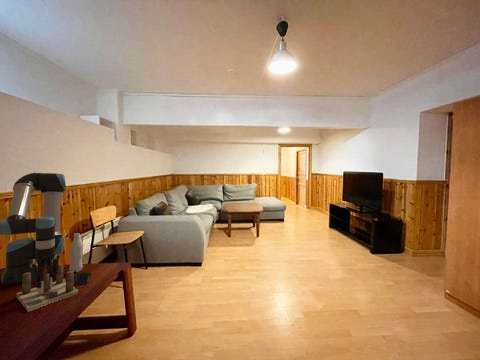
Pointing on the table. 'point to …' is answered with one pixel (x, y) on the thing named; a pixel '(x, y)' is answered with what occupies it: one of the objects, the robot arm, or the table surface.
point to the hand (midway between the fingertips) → (45, 291)
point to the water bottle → (76, 253)
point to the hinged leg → (47, 286)
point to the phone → (82, 278)
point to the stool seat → (62, 286)
